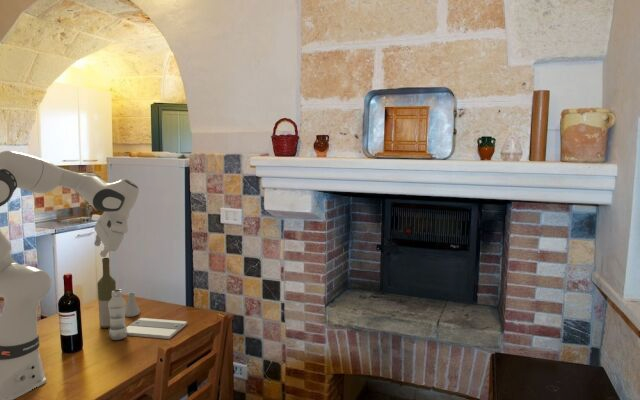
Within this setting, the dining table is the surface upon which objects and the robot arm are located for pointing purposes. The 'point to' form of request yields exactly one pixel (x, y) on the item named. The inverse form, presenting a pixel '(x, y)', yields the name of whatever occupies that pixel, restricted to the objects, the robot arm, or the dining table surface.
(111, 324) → the plastic bottle
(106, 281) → the bottle
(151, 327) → the white book
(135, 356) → the dining table surface
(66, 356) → the dining table surface
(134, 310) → the flask
